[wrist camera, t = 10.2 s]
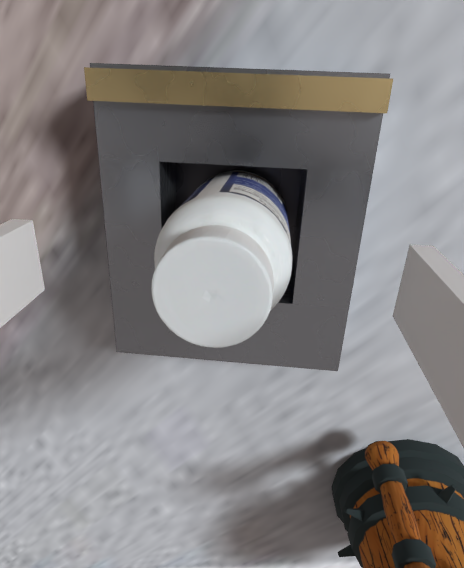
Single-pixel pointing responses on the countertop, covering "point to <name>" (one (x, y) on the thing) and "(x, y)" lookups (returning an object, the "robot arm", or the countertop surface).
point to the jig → (247, 157)
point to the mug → (402, 505)
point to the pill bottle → (223, 260)
